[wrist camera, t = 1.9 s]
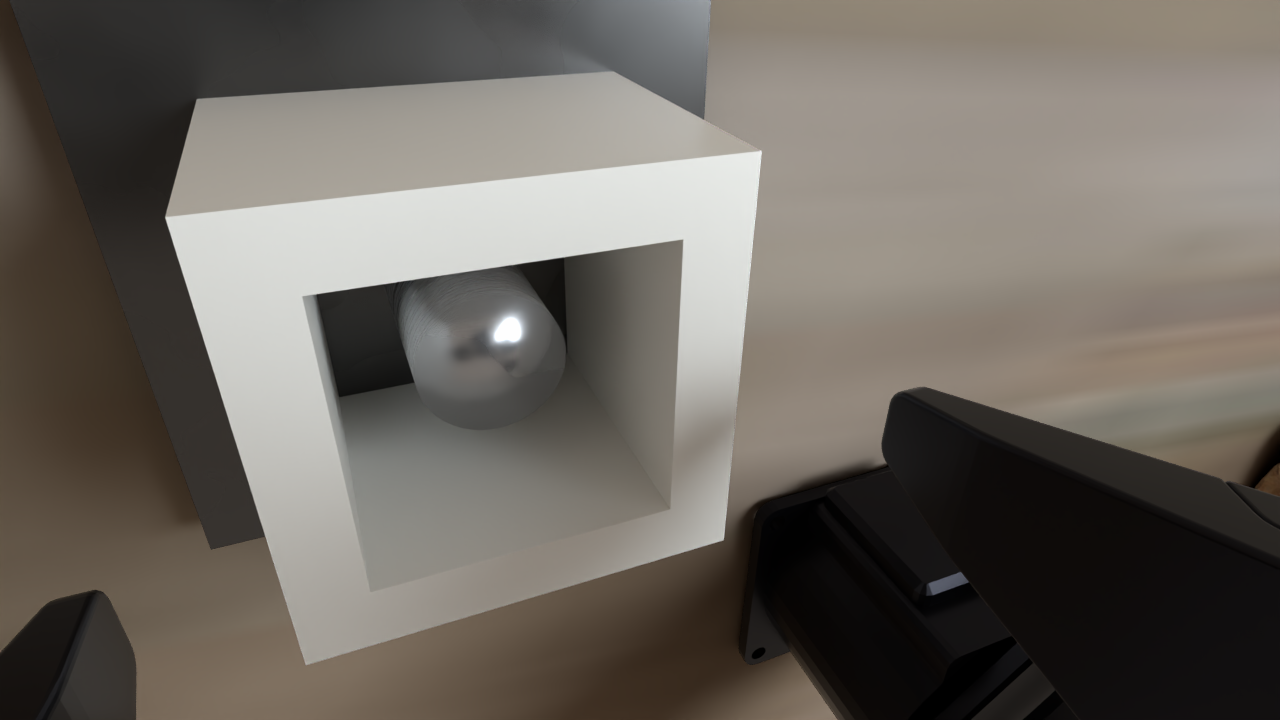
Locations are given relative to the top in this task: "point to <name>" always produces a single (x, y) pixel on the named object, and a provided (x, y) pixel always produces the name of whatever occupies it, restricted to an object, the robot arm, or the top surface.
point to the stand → (316, 61)
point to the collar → (454, 243)
